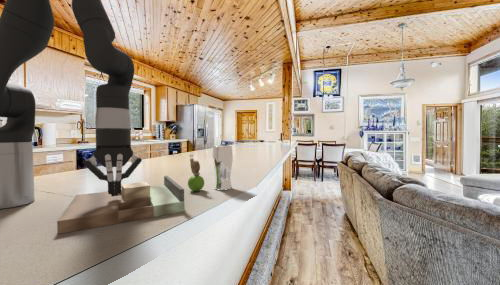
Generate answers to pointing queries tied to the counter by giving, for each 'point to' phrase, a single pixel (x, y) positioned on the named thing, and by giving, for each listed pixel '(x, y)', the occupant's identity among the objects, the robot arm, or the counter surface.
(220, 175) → the beer glass
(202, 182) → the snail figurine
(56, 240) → the counter surface
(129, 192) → the block
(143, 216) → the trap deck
